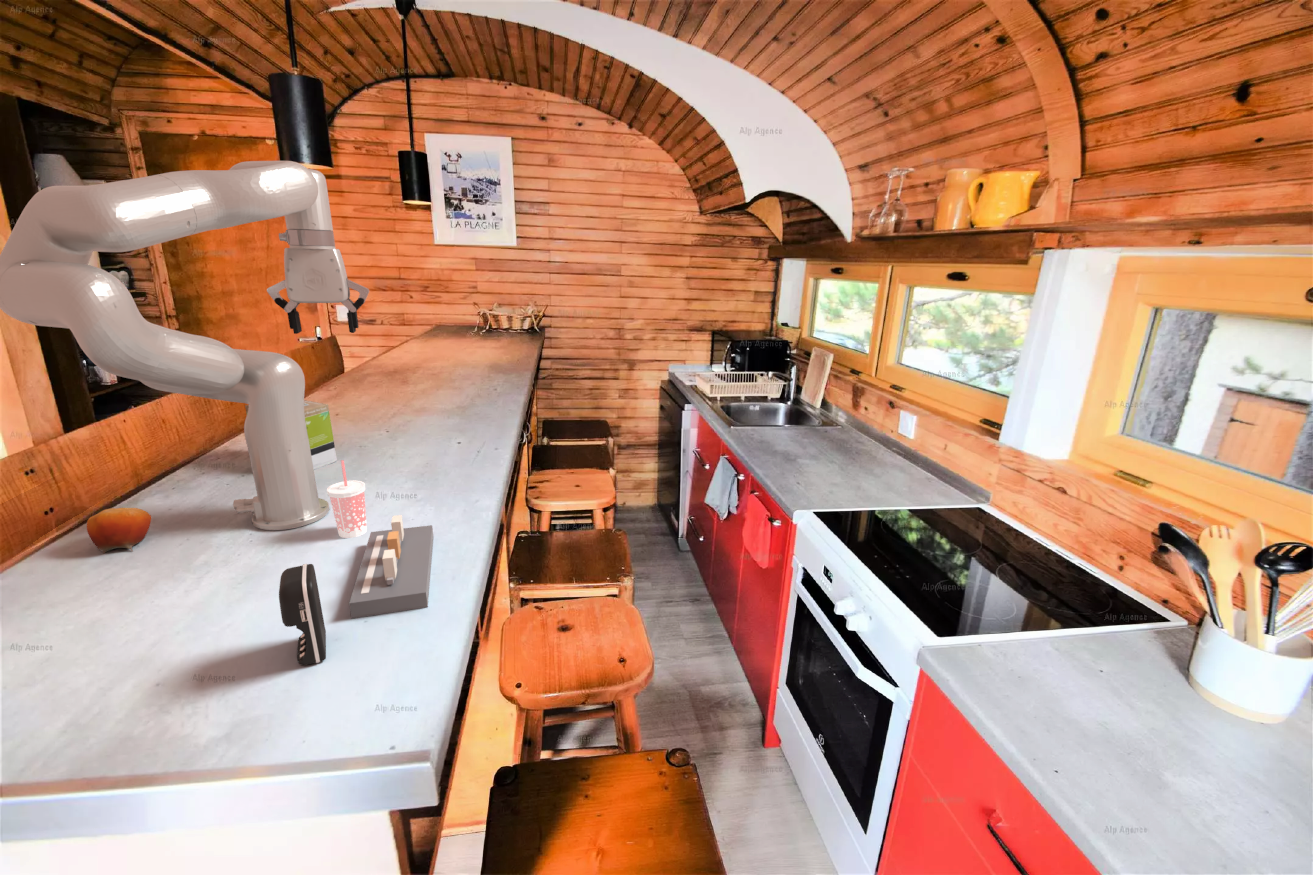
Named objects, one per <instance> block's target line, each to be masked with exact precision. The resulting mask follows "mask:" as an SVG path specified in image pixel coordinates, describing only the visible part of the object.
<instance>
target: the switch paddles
mask: <svg viewBox="0 0 1313 875" xmlns="http://www.w3.org/2000/svg"><path fill="white" fill-rule="evenodd" d="M390 523H391V524H390V525H391V526H390V527H391V530H392V532H389V533H388V538H387V544H388V550H384V554H383V558H382V560H383V567H384V575H385V580H387V585H391V584H393V583H394V579H396V574H397V562H398V559H399V558H400V553H401V548H400V546H401V541H403V537H404V529H403V528H404V522H403V515H402V514H397V515H393V516H392V517H391V522H390Z"/></svg>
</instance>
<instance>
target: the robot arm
mask: <svg viewBox="0 0 1313 875" xmlns="http://www.w3.org/2000/svg"><path fill="white" fill-rule="evenodd" d="M328 192H329V190H328V185H327V180H326V176H325V175H324V174H323V173H322V172H321V171H320V170H317V169H313V168H312V169H311V168H307V167H306V166H304V165H303V164H301V163H299V162H297V161H292V160H250V161H249V160H248V161H241V162H238V163H235V164H234V165H232V166H231V167H230V168H229V169H227V170H222V169H221V170H214V169H213V170H211V169H210V170H209V169H208V170H207V169H206V170H205V169H204V170H203V169H201V170H200V169H199V170H198V169H197V170H194V169H193V170H177V171H169V172H164V173H160V174H159V173H158V174H153V175H149V176H147V175H146V176H142V177H137V178H130V179H123V180H116V181H111V182H105V183H99V184H88V185H52V186H47V187H44V188H42V189H41V190H39V191H37V192H36V193H35V194H34V195H33V196H32V197H31V199H30V200H29V201H28V202H27V204H26V205H24V206H25V207H24V208H23V210H22V211H21V214H20V215H19V217H18V219H17V221H16V223H15V225H14V227H13V229H12V230H11V232H10V234H9V236H8V239H7V241H6V243H5V245H4V247H3V249H2V251H1V253H0V310H1V311H2V312H3V313H5V315H7V316H8V317H10V318H12V319H13V320H16V321H19V322H21V323H24V324H29V325H31V326H32V325H33V326H37V327H38V326H39V327H49V328H51V327H52V328H60V329H61V328H62V329H69V330H70V331H71V333H72V335H73V337H74V338H75V340H76V342H77V344H78V345H79V348H80V349H81V350H82V351H83V353H84V354H85V355H86V357H87V358H88V359H89V360H90V361H91V362H92V363H93V364H94V365H95V366H97V368H99V369H100V370H102V371H105V372H106V373H108V374H111V375H115V376H117V377H122V378H124V379H125V378H126V379H129V380H130V379H131V380H135V381H139V382H141V383H142V384H143V385H145V386H147V387H149V388H151V389H153V390H157V391H161V392H162V391H163V392H166V393H171V394H179V395H180V394H181V395H185V396H186V395H187V396H192V397H198V398H205V399H211V400H218V401H223V402H232V403H233V402H234V403H243V404H245V405H249V409H248V413H247V414H246V417H245V420H244V425H243V429H244V430H243V431H244V432H243V433H244V439H245V443H246V447H247V452H248V455H249V461H250V467H251V471H252V476H253V481H254V486H255V490H256V495H257V496H253V498H248V499H247V498H241V499H233V504H232V506H233V509H234V510H235V511H236V512H237V514H246V513H252V516H251V523H252V524H253V526H254V527H255V528H258V529H259V530H265V531H284V530H289V529H290V530H291V529H296V528H300V527H304V526H307V525H311V524H312V523H315V522H317V521H319V520H321V519H322V518H324V517H325V516H326V515H327V514H329V511H330V503H329V502H328V501H327V500H325V499H323V498H319V493H318V488H317V481H316V476H315V470H314V469H313V463H312V457H311V451H310V445H309V439H308V435H307V429H306V422H305V414H304V400H305V392H306V391H305V390H306V380H305V379H306V378H305V374H304V372H303V371H304V370H303V369H302V367H301V366H300V364H299V363H298V362H297V361H295V360H294V359H293V358H291V357H289V356H287V355H285V354H282V353H279V352H273V351H266V350H265V351H263V350H253V349H250V350H249V349H240V348H239V349H238V348H232V347H231V346H229V345H228V344H226V343H225V342H222V341H220V340H218V339H214V338H212V337H208V336H203V335H199V334H198V335H197V334H192V333H187V332H184V331H181V330H177V329H171V328H167V327H165V326H162V325H159V324H156V323H152V322H150V321H148V320H147V319H146V318H144V317H143V314H141V312H140V310H139V308H138V307H137V306H138V305H137V304H136V301H135V300H134V298H133V296H132V294H131V292H130V291H129V290H128V288H127V287H126V285H125V284H124V283H123V282H122V281H121V280H120V279H118V278H117V277H116V276H115V275H113V274H112V273H111V272H108V271H107V270H105V269H103V268H100V267H97V266H94V265H92V264H89V263H90V260H91V258H92V255H93V253H94V252H98V253H99V252H100V253H124V252H132V251H136V250H141V249H143V248H149V247H152V246H154V245H155V246H156V245H159V244H163V243H167V242H169V241H173V240H179V239H180V238H181V239H182V238H184V237H187V236H192V235H196V234H200V233H203V232H209V231H213V230H221V229H227V228H232V227H236V226H239V225H246V224H249V223H254V222H255V223H256V222H261V221H266V220H270V219H271V220H272V219H277V218H281V217H284V221H285V227H286V229H285V232H282V233H281V232H279V233H278V239H279V241H281V242H283V241H284V242H286V243H287V245H288V246H289V247H285V248H284V250H283V252H284V253H283V262H284V263H283V266H284V267H283V268H284V279H283V280H282V281H279V282H278V283H276V284H274V285H271V286H269V287H268V288H267V289H266V292H267V294H268V295H269V296H270V297H271V299H272V300H273V301H274V303H275V304H276V305H277V306H279V307H280V308H281V309H282V310H284V312H285V313H287V319H288V324H289V328H290V330H292V331H293V334H295V335H297V334H300V333H302V331H303V330H302V324H301V317H300V312H299V311H298V310H297V308H298V306H299V305H300V304H338V303H339V304H340V303H341V304H342V305H343V306H344V307H345V309H347V310H348V312H347V313H346V317H347V323H348V331H349V333H350V334H352V333H353V334H354V333H355V332H356V331H357V329H359V321H358V320H359V319H358V313H357V311H358V310H359V309H360V308H361V307H362V306H363V305H364V304H365V303H366V300H367V298H368V296H369V293H370V289H369V288H368V287H365V286H364V285H362V284H359V283H356V282H354V281H352V280H350V279H349V278H348V275H347V270H346V266H345V262H344V259H343V256H342V253H341V250H340V249H339V248H337V247H336V242H335V234H334V227H333V226H334V225H333V220H332V214H331V212H332V211H331V208H330V207H331V206H330V199H329V193H328ZM284 289H286V296H287V298H288V300H289V301H287V300H286V299H284V298H283V297H282V296H281V293H280V291H282V290H284ZM350 289H352V290H354V291H357V292H358V293H359V295H358V298H357V299H356V300H355V302H354V301H353V300H351V298H350V297H351V291H350Z"/></svg>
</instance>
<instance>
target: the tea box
mask: <svg viewBox="0 0 1313 875" xmlns="http://www.w3.org/2000/svg"><path fill="white" fill-rule="evenodd" d="M244 408H245V413H246V415H247V413H248V409H249V404H245V405H244ZM304 414H305V422H306V429H307V435H308V439H309V445H310V451H311V457H312V463H313V469H314V471H315V470H317V469H320V468H324V467H326V466H328V465H331V464H333V463H336V462H337V461H338V459H337V452H336V447H335V439H334V435H333V434H334V433H333V428H332V421H331V416H330V415H331V414H330V409H329V404H328V403H322V402H317V401H312V400H307V399H304Z"/></svg>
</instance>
